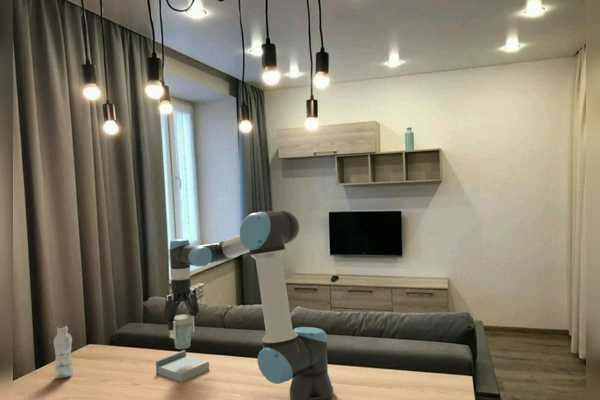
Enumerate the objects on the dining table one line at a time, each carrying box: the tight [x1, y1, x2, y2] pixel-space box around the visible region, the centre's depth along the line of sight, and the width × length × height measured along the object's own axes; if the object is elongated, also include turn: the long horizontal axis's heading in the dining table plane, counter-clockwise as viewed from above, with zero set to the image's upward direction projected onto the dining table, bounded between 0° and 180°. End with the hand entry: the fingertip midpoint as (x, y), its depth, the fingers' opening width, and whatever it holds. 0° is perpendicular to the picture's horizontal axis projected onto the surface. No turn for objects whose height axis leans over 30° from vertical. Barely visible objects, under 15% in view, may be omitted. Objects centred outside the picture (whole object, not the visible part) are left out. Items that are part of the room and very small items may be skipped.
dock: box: [155, 349, 210, 383], centre depth 178 cm, size 15×14×5 cm
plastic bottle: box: [53, 325, 74, 380], centre depth 176 cm, size 6×7×20 cm
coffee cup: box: [173, 313, 193, 350], centre depth 178 cm, size 8×8×12 cm
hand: (182, 334), depth 178 cm, fingers closed on coffee cup, 8 cm apart
